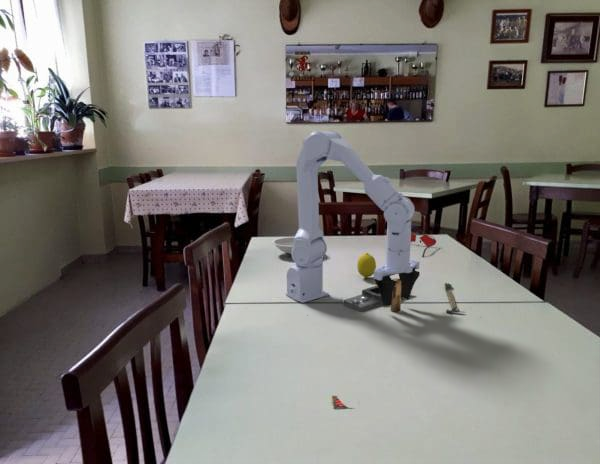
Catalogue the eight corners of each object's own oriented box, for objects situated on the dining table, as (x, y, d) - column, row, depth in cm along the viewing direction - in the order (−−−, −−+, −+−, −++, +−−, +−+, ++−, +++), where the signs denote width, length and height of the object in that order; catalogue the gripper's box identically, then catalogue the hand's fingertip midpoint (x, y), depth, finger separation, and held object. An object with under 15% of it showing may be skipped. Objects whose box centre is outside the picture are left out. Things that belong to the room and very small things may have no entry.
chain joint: (359, 311, 112) (360, 300, 112) (343, 304, 117) (343, 293, 116) (409, 294, 123) (410, 284, 123) (392, 288, 128) (393, 278, 127)
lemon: (370, 282, 133) (370, 256, 131) (353, 279, 136) (354, 253, 135) (378, 277, 137) (379, 252, 136) (362, 274, 141) (363, 249, 139)
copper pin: (396, 313, 111) (397, 282, 109) (388, 310, 113) (389, 279, 111) (402, 310, 113) (403, 280, 111) (395, 307, 114) (396, 277, 113)
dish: (267, 259, 157) (267, 245, 156) (277, 249, 171) (276, 236, 170) (318, 261, 154) (318, 247, 153) (323, 250, 168) (323, 237, 167)
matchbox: (362, 407, 74) (363, 405, 74) (333, 413, 73) (333, 411, 73) (351, 392, 79) (351, 390, 79) (323, 397, 77) (323, 395, 77)
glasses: (436, 248, 172) (437, 235, 171) (423, 258, 158) (423, 244, 157) (401, 243, 179) (401, 231, 178) (385, 253, 166) (386, 239, 165)
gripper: (390, 257, 102) (388, 313, 105) (430, 247, 110) (427, 299, 113) (367, 250, 107) (366, 304, 110) (407, 241, 116) (405, 291, 119)
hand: (395, 301), depth 112 cm, fingers open, 6 cm apart
